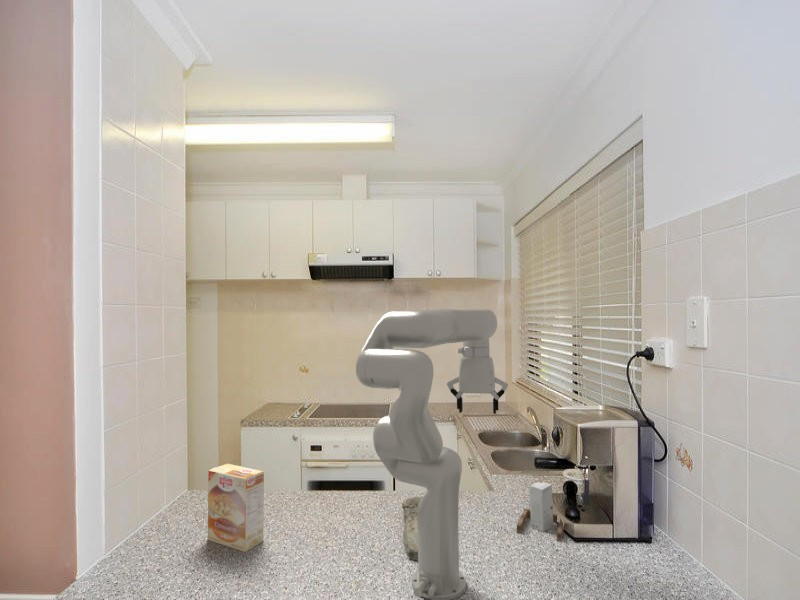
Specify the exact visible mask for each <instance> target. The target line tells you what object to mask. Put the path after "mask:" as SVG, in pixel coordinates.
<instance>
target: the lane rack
mask: <svg viewBox="0 0 800 600" xmlns="http://www.w3.org/2000/svg"><path fill="white" fill-rule="evenodd" d="M556 514H557V513H553V523H557V515H558V514H557V515H556ZM528 518H530V519H531V509H527V508H524V509H523V511H522V512H521V515H520V518H519V520H518V522H517V524H516V533H517V534H521V533H522V530H523V528H524V526H525V524H526V521H527V519H528ZM564 530H565V526H564V527H563V522H562V520H561V519H560V523H558V528H557V531H556V541H557V542H561V541H562V538H563V534H564Z"/></svg>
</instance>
